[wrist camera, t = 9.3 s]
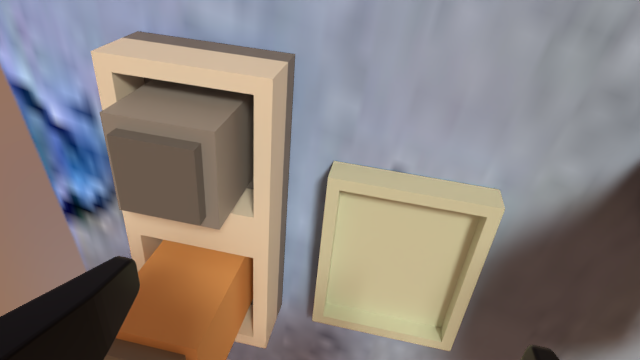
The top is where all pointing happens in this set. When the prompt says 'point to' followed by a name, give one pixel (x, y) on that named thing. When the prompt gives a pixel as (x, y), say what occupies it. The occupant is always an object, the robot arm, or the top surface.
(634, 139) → the top surface
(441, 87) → the top surface
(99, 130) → the top surface
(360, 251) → the tray
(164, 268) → the plug
